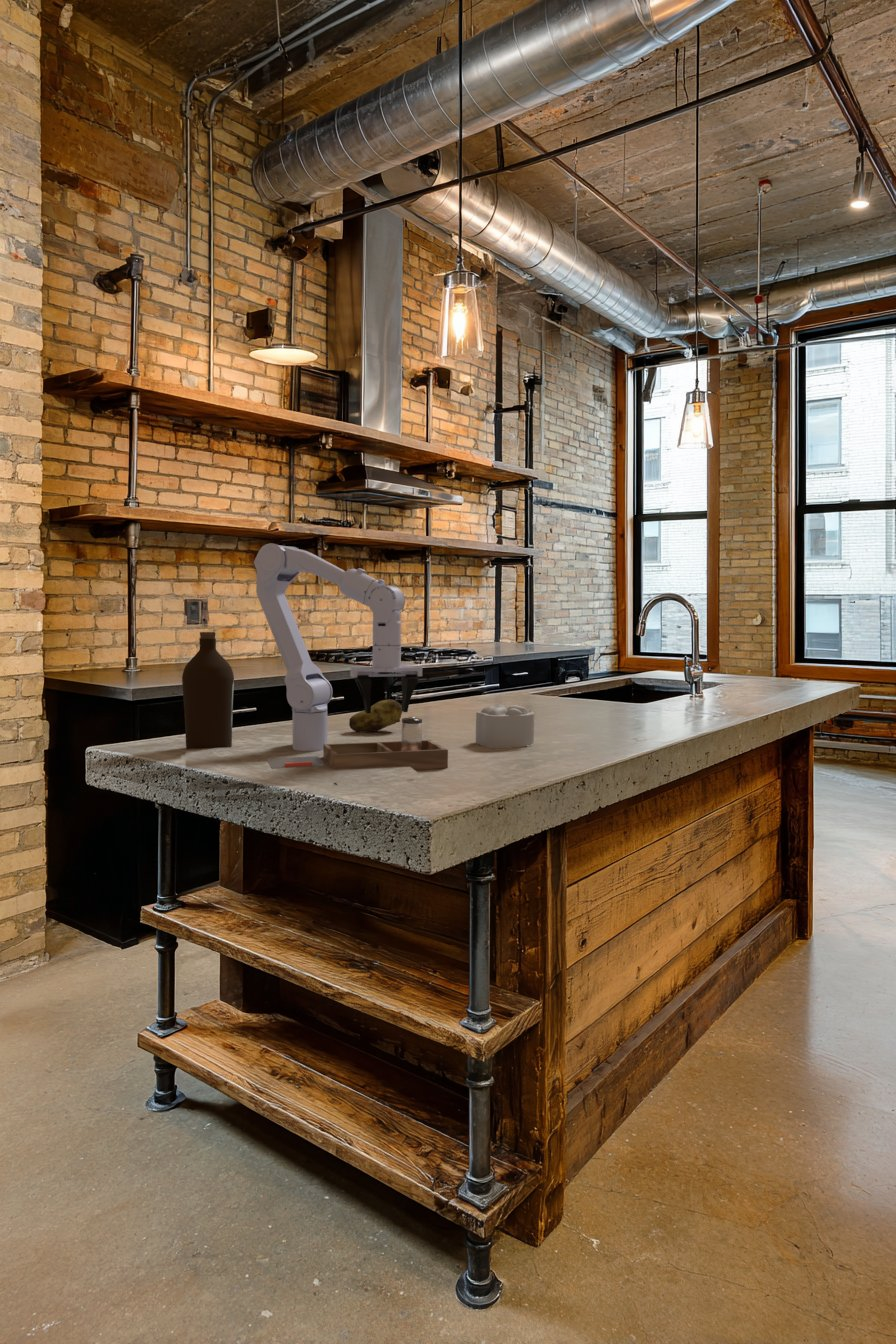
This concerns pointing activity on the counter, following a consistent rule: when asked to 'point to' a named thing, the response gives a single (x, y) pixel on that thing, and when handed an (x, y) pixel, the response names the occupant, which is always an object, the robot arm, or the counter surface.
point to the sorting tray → (385, 755)
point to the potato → (377, 716)
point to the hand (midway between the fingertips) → (386, 712)
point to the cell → (411, 734)
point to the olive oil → (208, 697)
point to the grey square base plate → (295, 762)
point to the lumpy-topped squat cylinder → (504, 727)
